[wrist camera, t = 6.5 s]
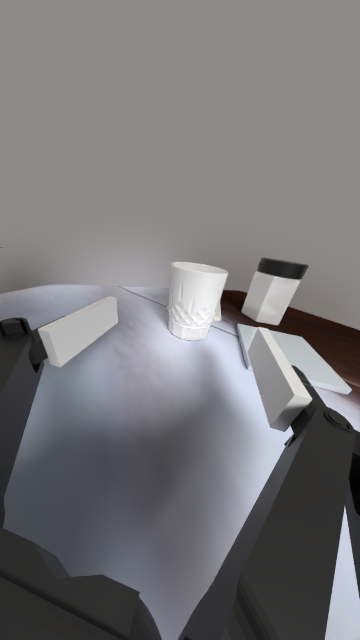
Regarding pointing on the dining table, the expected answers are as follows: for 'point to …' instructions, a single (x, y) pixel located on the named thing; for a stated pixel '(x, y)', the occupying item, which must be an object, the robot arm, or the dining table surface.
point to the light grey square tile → (297, 358)
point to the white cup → (193, 298)
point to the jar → (272, 290)
